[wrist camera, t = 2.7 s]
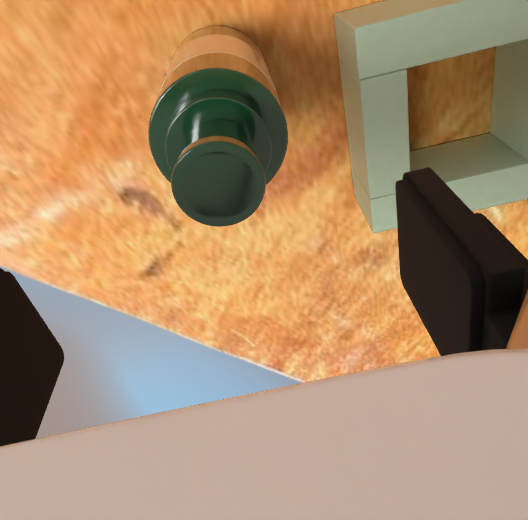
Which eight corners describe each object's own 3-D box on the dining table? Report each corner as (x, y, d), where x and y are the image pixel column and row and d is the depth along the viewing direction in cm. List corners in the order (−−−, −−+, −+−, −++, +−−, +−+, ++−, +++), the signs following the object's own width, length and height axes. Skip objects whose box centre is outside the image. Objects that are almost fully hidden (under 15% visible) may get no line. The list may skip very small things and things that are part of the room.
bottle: (218, 0, 23) (217, 58, 12) (288, 81, 25) (337, 187, 15) (148, 77, 24) (95, 185, 14) (219, 146, 27) (219, 282, 16)
